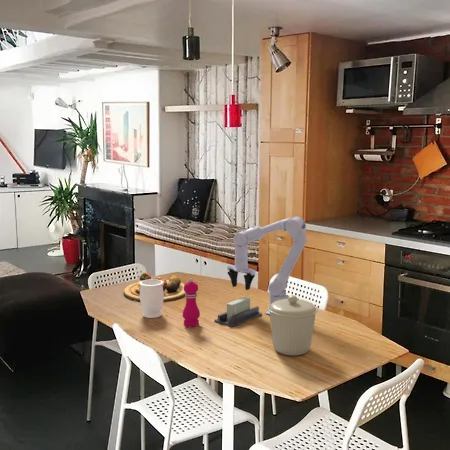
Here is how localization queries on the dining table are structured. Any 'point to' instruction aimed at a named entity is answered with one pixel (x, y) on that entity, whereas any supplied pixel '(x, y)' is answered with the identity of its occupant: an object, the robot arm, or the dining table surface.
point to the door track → (238, 317)
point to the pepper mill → (191, 304)
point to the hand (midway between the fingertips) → (241, 287)
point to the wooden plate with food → (170, 287)
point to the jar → (151, 297)
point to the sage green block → (238, 306)
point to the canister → (292, 325)
